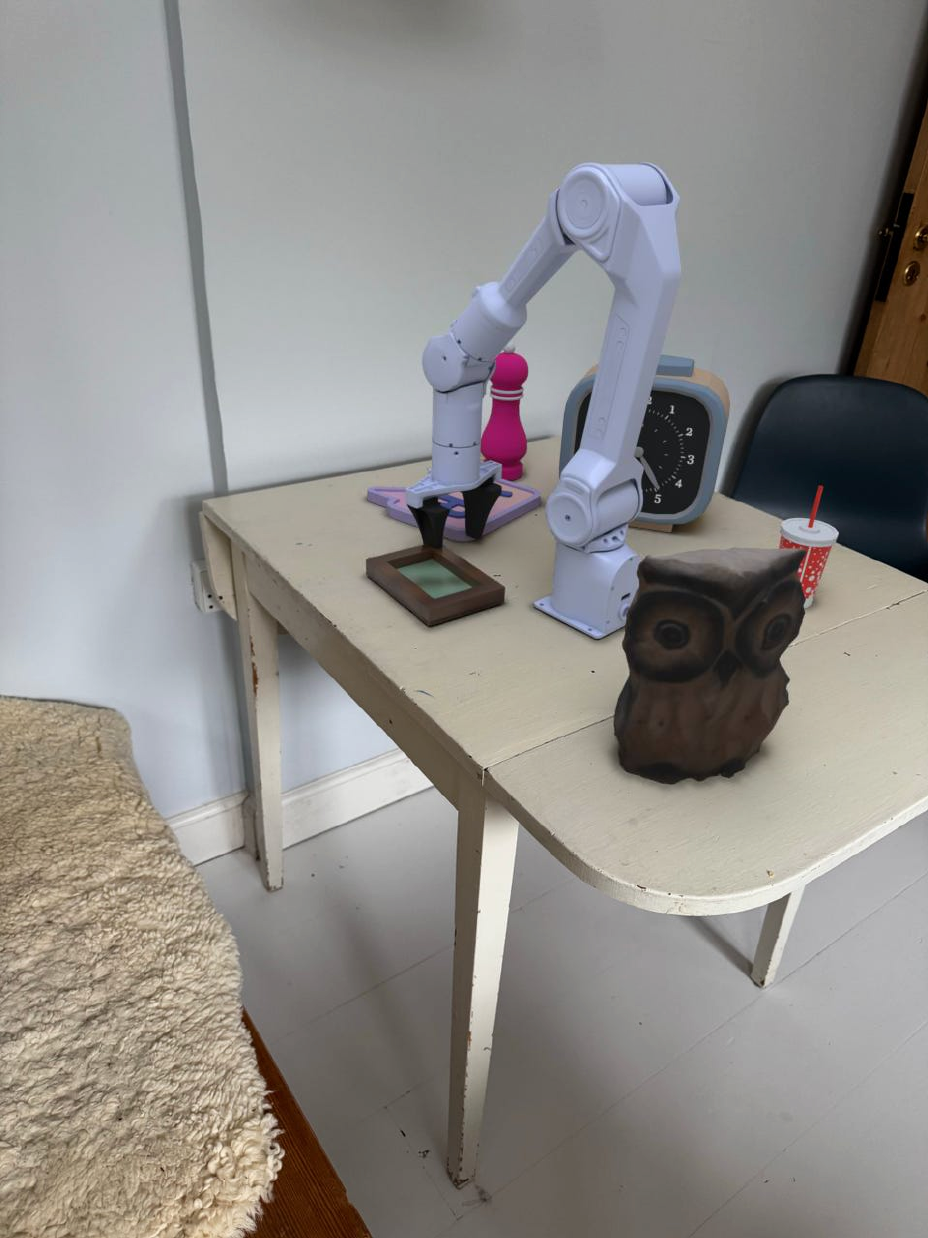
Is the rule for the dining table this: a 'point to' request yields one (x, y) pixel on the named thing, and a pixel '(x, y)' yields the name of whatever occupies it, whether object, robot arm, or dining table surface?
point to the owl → (706, 660)
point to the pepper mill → (506, 415)
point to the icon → (461, 507)
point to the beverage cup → (809, 547)
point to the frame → (435, 582)
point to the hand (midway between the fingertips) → (453, 545)
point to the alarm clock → (667, 440)
